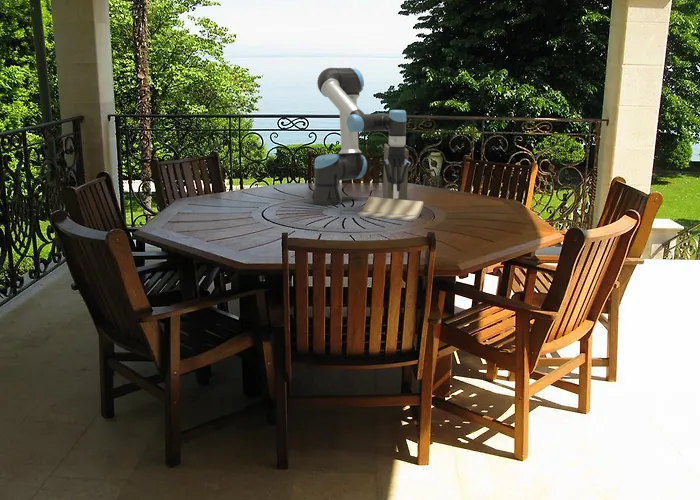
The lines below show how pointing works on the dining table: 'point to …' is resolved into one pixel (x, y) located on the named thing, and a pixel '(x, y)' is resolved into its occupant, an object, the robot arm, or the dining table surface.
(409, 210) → the plank
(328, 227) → the dining table surface
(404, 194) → the olive curved-top slab
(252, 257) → the dining table surface
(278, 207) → the dining table surface
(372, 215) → the laid boards
